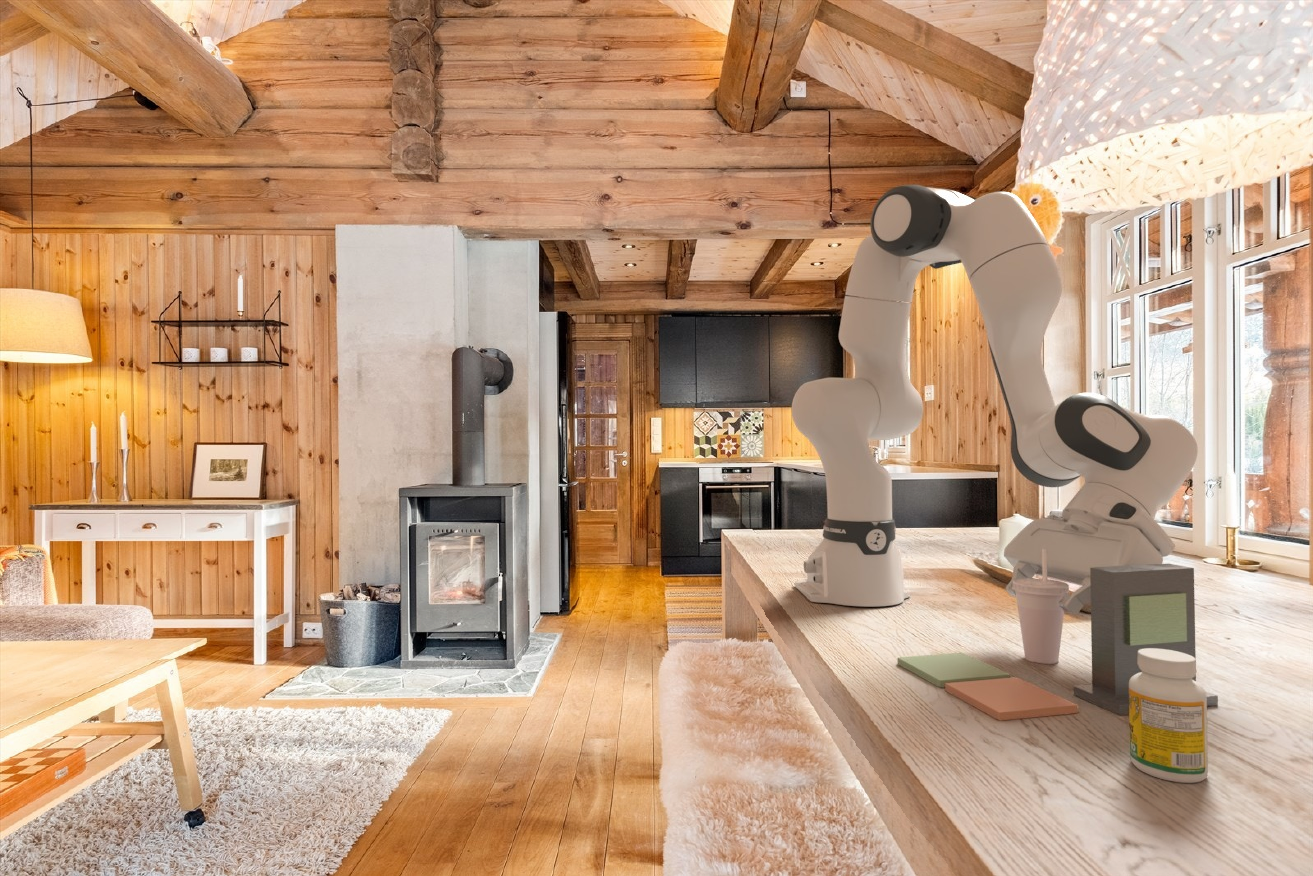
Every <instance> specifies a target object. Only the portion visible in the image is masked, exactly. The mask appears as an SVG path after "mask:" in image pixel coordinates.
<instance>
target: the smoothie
mask: <svg viewBox="0 0 1313 876" xmlns="http://www.w3.org/2000/svg"><path fill="white" fill-rule="evenodd" d="M1041 577H1042V578H1034V577H1032V578H1024V579H1016V580H1014V581H1013V587H1012V589H1013V590H1015V592H1016V597H1015V599H1016V605H1017V606H1016V607H1017V610H1018V618H1019V625H1020V631H1021V632H1020V633H1021V639H1022V645H1023V652H1024V657H1025V660H1027V661H1029V662H1031V663H1032V662H1033V663H1037V664H1043V665H1044V664H1046V665H1052V664H1053V665H1054V664H1057V663H1059V658H1060V648H1061V642H1062V641H1061V640H1062V634H1063V633H1062V632H1063V626H1064V625H1063V624H1064V617H1065V611H1063V609H1062V608H1061V607H1060V606H1059V601H1060V600H1061V599H1062V598H1063V596H1064V595H1065V594H1066V593H1068V594H1070V584H1068V582H1064V581H1059V580H1055V579H1049V578H1047V549H1046V548H1042V576H1041Z"/></svg>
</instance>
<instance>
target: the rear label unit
mask: <svg viewBox="0 0 1313 876" xmlns="http://www.w3.org/2000/svg"><path fill="white" fill-rule="evenodd" d="M1090 583H1091V603H1090V625H1091V627H1090V628H1091V629H1090V630H1091V631H1090V632H1091V635H1090V636H1091V637H1090V638H1091V678H1092V679H1091V681H1092V682H1091V683H1089V684H1080V685H1079V684H1077V685H1073V696H1075V697H1077V698H1079V699H1081V700H1084V701H1086V702H1088V703H1091V704H1093V705H1094V706H1098V707H1100V708H1102V709H1104V710H1107V711H1109V712H1111V713H1114V714H1116V715H1117V716H1124V715H1125V716H1127V715H1129V681H1130V679H1131V677H1132V676H1134V675H1135V674H1137V673H1140V672H1142V670H1141V669H1140V668H1139V666H1138V664H1137V657H1138V651H1139V650H1140V649H1145V648H1157V649H1166V650H1173V651H1178V652H1182V653H1185V654H1188V655H1191V656H1193V657H1194V658H1195V659H1196V654H1197V653H1196V619H1195V618H1196V613H1195V609H1196V608H1195V606H1196V605H1195V602H1196V601H1195V568H1194V567H1190V566H1185V565H1178V564H1173V563H1162V564H1150V565H1131V566H1112V567H1092V568H1090ZM1196 660H1197V659H1196ZM1192 680H1194V681H1196V682H1197V673H1196V674H1195V677H1193V678H1192ZM1205 692H1206V695H1207V707H1214V706H1219V698H1218V696H1219V695H1217V694H1215V693H1211V692H1209V691H1206V690H1205Z"/></svg>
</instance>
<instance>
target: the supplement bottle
mask: <svg viewBox="0 0 1313 876" xmlns="http://www.w3.org/2000/svg"><path fill="white" fill-rule="evenodd" d="M1137 664H1138V666H1139V668H1140V669H1141V670H1142V672H1140V673H1137V674H1135V675H1134V676H1132V677H1131V679H1130V681H1129V714H1128V717H1129V719H1128V722H1129V724H1128V726H1129V759H1130V761H1131V763H1132V764H1133V765H1134V766H1135V767H1136V768H1137V769H1138V770H1139V771H1141V772H1143V773H1144V774H1146V775H1149V776H1152V777H1154V778H1158V779H1161V780H1165V781H1168V782H1172V783H1173V782H1175V783H1181V784H1195V783H1201V782H1202V781H1204V780H1205V779H1206V778H1207V777H1208V774H1209V763H1208V762H1209V761H1208V760H1209V759H1208V758H1209V757H1208V754H1209V753H1208V706H1207V695H1206V692H1207V691H1206V690H1205V688H1204V687H1203V685H1201V684H1200V683H1199V682H1198V681H1197V680H1196V681H1194V680H1192V678H1193V677H1195V674H1196V675H1197V673H1198V672H1197V671H1198V670H1197V659H1195V658H1194V657H1193V656H1191V655H1188V654H1185V653H1182V652H1178V651H1173V650H1166V649H1157V648H1145V649H1140V650H1139V651H1138V657H1137ZM1205 691H1206V692H1205Z"/></svg>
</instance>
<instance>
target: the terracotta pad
mask: <svg viewBox="0 0 1313 876" xmlns="http://www.w3.org/2000/svg"><path fill="white" fill-rule="evenodd" d="M944 688H945V689H944V690H945V692H947V693H950V694H951V695H952V696H954V697H957V698H958V699H960V700H962V701H963V702H965V703H967V704H969V705H971V706H972V707H974V708H975V709H978V710H980V711H982V712H983V713H985V714H986V715H988V716H990V717H992V718H994V719H997V720H998V721H1009V720H1010V721H1011V720H1021V719H1029V718H1040V717H1049V716H1059V715H1060V716H1061V715H1068V714H1069V715H1070V714H1071V715H1072V714H1078V713H1079V705H1078V704H1077V703H1074V702H1072V701H1070V700H1068V699H1066V698H1063V697H1061V696H1059V695H1057V694H1055V693H1052V692H1050V691H1048V690H1045V689H1044V688H1041V687H1039V686H1037V685H1035V684H1032V683H1031V682H1028V681H1025V680H1024V679H1021V678H1020V677H1015V676H1014V677H1013V676H1012V677H1010V678H1001V679H989V680H978V681H966V682H954V683H945V687H944Z"/></svg>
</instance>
